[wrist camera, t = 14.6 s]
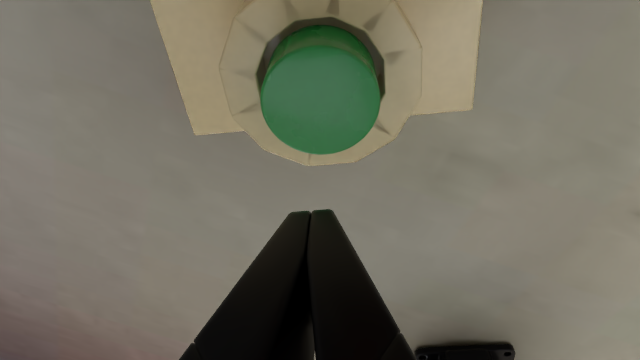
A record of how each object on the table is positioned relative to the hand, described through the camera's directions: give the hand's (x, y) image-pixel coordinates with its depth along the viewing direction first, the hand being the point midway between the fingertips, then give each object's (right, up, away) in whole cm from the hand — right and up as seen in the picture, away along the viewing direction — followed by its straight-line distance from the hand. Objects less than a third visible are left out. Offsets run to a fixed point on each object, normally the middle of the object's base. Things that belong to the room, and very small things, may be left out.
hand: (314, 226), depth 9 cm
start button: (0, +4, +6) cm, 7 cm away
